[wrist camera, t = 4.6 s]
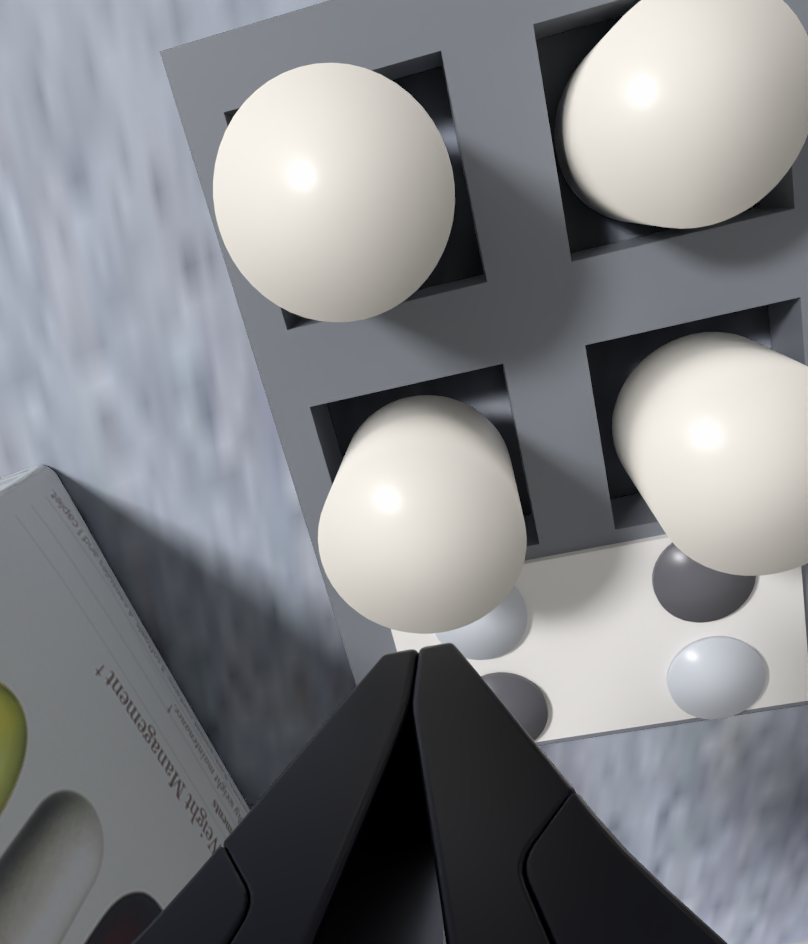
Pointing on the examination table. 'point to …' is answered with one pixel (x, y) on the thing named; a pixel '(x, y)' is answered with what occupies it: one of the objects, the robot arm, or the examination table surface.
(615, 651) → the button board
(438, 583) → the button
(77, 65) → the examination table surface
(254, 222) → the button
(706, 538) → the button
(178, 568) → the examination table surface
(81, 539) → the supplement box
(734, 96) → the button
